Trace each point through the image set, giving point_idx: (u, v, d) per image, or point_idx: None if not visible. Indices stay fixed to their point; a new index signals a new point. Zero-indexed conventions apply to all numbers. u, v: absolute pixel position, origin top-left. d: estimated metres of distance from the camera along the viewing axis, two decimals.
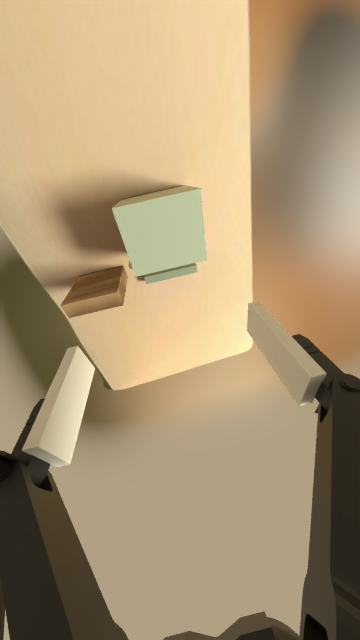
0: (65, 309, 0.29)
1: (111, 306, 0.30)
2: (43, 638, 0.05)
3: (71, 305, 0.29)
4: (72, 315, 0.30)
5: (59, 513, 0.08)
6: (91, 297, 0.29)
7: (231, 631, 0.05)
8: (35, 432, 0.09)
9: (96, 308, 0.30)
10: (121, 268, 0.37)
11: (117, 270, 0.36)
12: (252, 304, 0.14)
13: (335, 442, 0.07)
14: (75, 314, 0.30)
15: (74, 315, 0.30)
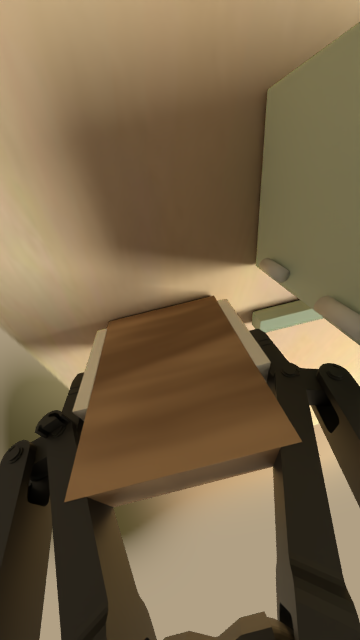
0: None
1: (251, 470, 0.08)
2: (83, 590, 0.05)
3: (107, 493, 0.07)
4: None
5: None
6: (189, 456, 0.07)
7: (231, 631, 0.05)
8: (81, 397, 0.10)
9: (198, 482, 0.08)
10: (215, 303, 0.15)
11: (208, 310, 0.14)
12: (220, 301, 0.15)
13: None
14: (119, 503, 0.08)
15: (113, 505, 0.08)
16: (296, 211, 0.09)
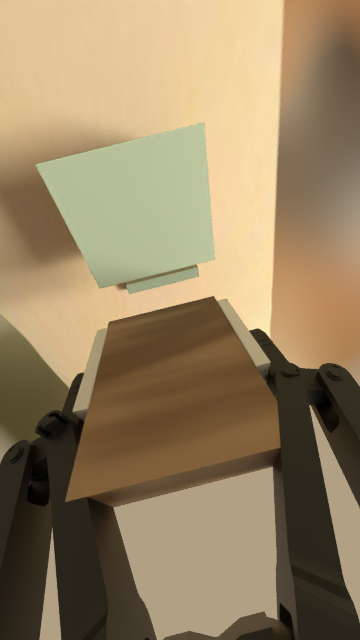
0: None
1: (250, 470, 0.08)
2: (83, 590, 0.05)
3: (108, 493, 0.07)
4: None
5: None
6: (189, 457, 0.07)
7: (231, 631, 0.05)
8: (81, 397, 0.10)
9: (198, 482, 0.08)
10: (215, 304, 0.15)
11: (208, 310, 0.14)
12: (220, 301, 0.15)
13: (282, 428, 0.07)
14: (119, 503, 0.08)
15: (114, 505, 0.08)
16: None
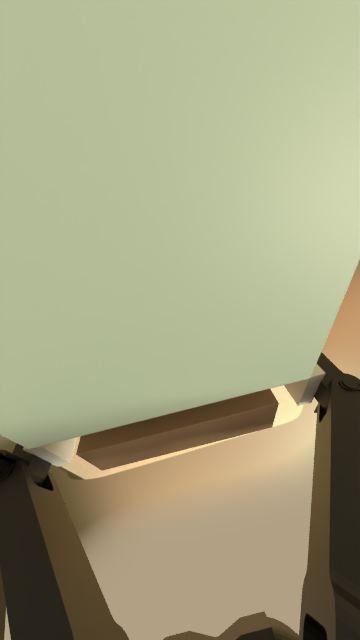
0: (92, 458, 0.09)
1: (237, 433, 0.09)
2: (44, 637, 0.05)
3: (113, 448, 0.08)
4: (113, 464, 0.09)
5: (59, 512, 0.08)
6: (183, 417, 0.08)
7: (231, 631, 0.05)
8: None
9: (191, 443, 0.09)
10: None
11: None
12: None
13: (334, 442, 0.07)
14: (122, 462, 0.09)
15: (118, 464, 0.09)
16: None
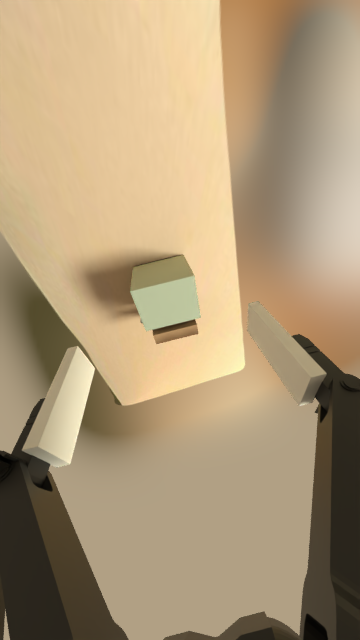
0: (155, 338, 0.38)
1: (189, 334, 0.39)
2: (43, 638, 0.05)
3: (160, 334, 0.38)
4: (159, 342, 0.39)
5: (59, 513, 0.08)
6: (176, 328, 0.38)
7: (231, 631, 0.05)
8: (35, 432, 0.09)
9: (178, 336, 0.39)
10: None
11: None
12: (252, 304, 0.14)
13: (335, 442, 0.07)
14: (161, 341, 0.39)
15: (160, 342, 0.39)
16: None
